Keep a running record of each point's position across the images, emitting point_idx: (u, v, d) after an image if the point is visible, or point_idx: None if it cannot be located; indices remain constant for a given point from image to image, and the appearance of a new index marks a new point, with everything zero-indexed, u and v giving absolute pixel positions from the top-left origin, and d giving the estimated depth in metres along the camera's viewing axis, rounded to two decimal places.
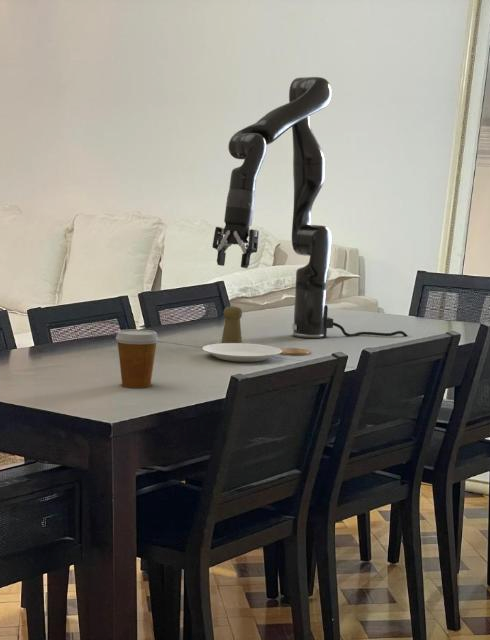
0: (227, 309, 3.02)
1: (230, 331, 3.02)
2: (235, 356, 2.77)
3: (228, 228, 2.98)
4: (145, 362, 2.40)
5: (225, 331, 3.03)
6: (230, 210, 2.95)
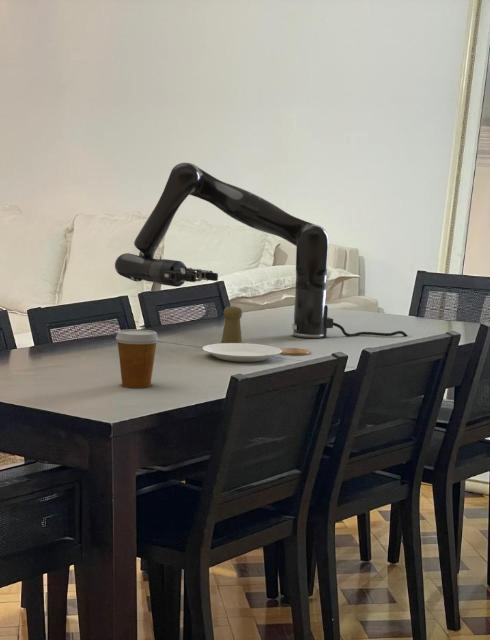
0: (227, 309, 3.02)
1: (230, 331, 3.02)
2: (235, 356, 2.77)
3: None
4: (145, 362, 2.40)
5: (225, 331, 3.03)
6: None
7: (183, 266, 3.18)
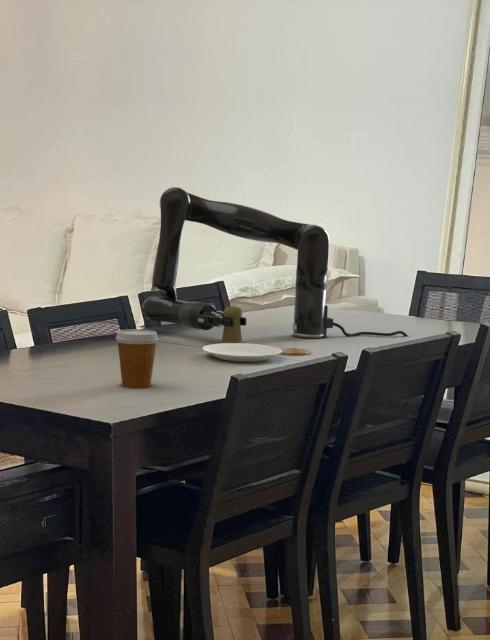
0: (227, 309, 3.02)
1: (230, 331, 3.02)
2: (235, 356, 2.77)
3: None
4: (145, 362, 2.40)
5: (225, 331, 3.03)
6: None
7: (213, 309, 3.12)
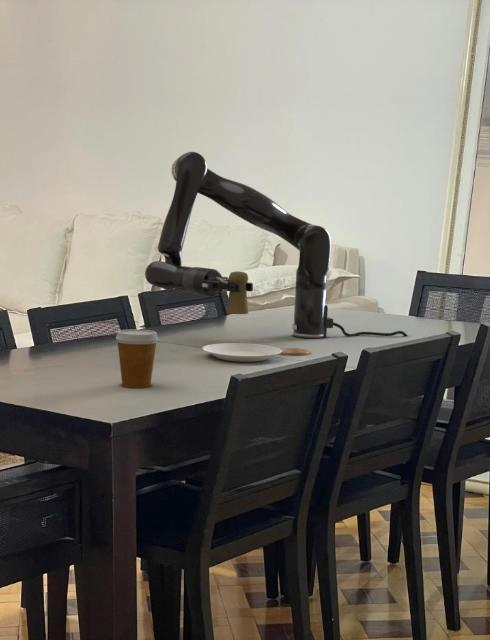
0: (233, 274, 2.90)
1: (236, 297, 2.90)
2: (235, 356, 2.77)
3: None
4: (145, 362, 2.40)
5: (230, 297, 2.91)
6: None
7: (218, 275, 2.99)
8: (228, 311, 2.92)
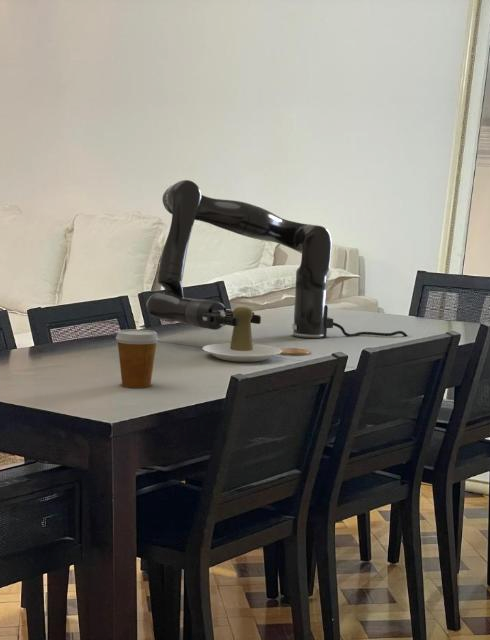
0: (237, 310, 2.83)
1: (240, 333, 2.83)
2: (235, 356, 2.77)
3: None
4: (145, 362, 2.40)
5: (235, 333, 2.84)
6: (208, 328, 2.94)
7: (222, 307, 2.92)
8: (232, 348, 2.84)
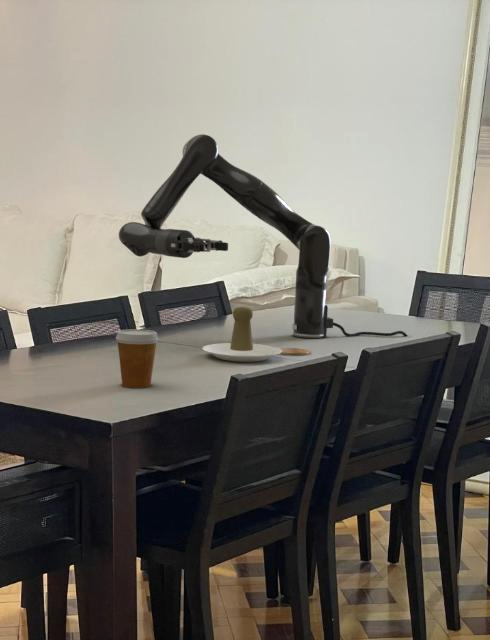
0: (237, 310, 2.83)
1: (240, 333, 2.83)
2: (235, 356, 2.77)
3: None
4: (145, 362, 2.40)
5: (235, 333, 2.84)
6: None
7: (191, 236, 2.98)
8: (232, 348, 2.84)
